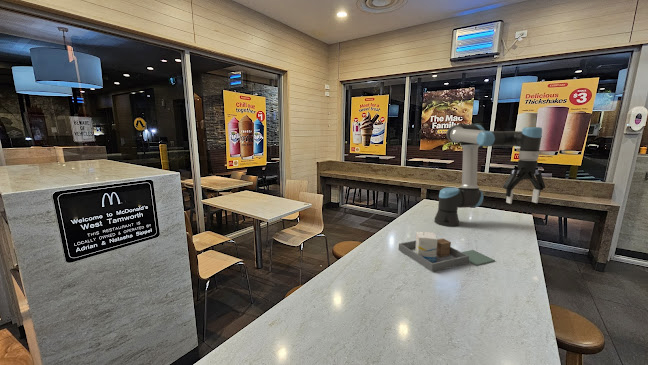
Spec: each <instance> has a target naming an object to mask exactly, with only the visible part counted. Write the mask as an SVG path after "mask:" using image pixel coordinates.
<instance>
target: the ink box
mask: <svg viewBox="0 0 648 365" xmlns="http://www.w3.org/2000/svg"><path fill="white" fill-rule="evenodd" d="M415 236H416V239H415V241H416V248H414V252H415V253H417V254H418V255H420V256H422V257H423V258H425V259H426V260H428V261H430V262H431V263H436V262H437V261H436V260H437V255H436V251H437V239H438V238H437V236H436V233H435V232H428V231H416V235H415Z"/></svg>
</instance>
